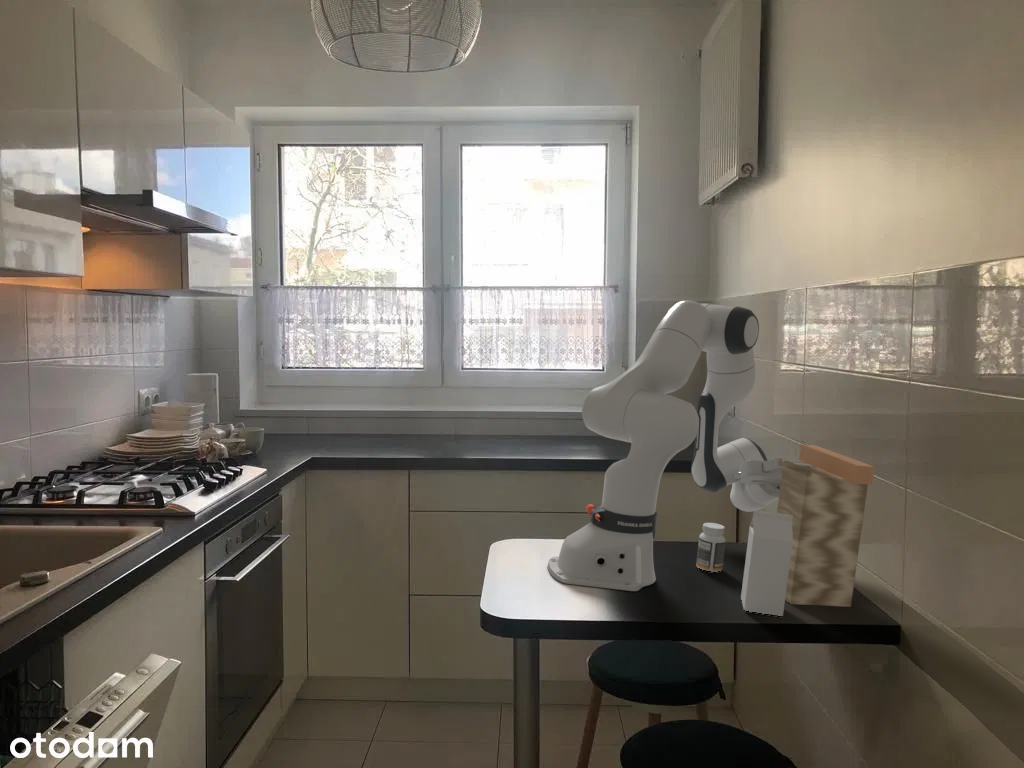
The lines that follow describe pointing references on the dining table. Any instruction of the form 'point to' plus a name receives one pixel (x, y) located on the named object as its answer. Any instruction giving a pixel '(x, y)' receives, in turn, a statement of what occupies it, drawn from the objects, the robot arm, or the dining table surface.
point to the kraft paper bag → (821, 534)
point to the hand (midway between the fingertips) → (799, 463)
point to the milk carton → (767, 563)
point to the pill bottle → (711, 547)
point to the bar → (837, 464)
